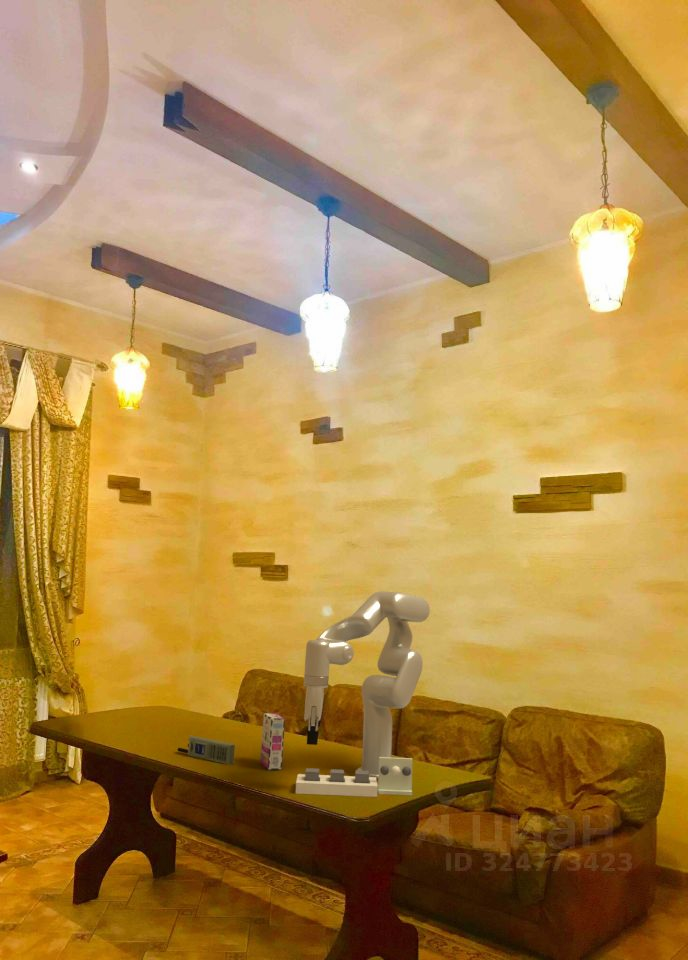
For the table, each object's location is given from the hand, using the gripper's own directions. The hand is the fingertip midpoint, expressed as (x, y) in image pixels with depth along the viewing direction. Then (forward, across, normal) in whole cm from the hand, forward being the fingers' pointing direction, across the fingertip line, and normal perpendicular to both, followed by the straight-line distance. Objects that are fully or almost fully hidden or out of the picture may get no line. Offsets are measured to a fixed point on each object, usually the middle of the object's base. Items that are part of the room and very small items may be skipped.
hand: (312, 744), depth 216 cm
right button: (+11, -1, +16) cm, 19 cm away
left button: (+11, -1, +1) cm, 11 cm away
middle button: (+11, -1, +8) cm, 14 cm away
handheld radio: (+14, -34, -38) cm, 53 cm away
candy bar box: (+13, -27, -14) cm, 33 cm away
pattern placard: (+13, -1, +26) cm, 29 cm away
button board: (+13, -1, +8) cm, 15 cm away
